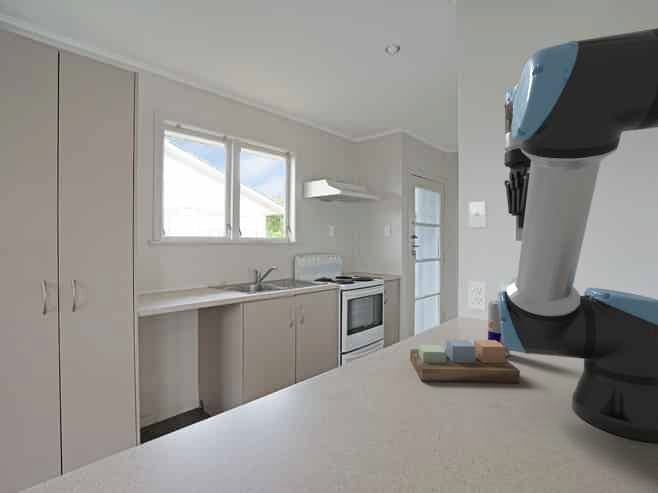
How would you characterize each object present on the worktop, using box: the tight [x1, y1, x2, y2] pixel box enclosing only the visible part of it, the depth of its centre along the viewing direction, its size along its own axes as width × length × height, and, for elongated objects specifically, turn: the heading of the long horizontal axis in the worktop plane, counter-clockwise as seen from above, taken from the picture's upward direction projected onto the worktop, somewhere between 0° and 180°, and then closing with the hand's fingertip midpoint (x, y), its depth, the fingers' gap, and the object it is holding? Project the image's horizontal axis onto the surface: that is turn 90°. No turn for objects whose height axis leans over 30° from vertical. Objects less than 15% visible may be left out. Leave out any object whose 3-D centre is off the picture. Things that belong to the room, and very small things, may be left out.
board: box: [409, 348, 521, 384], centre depth 86 cm, size 14×22×3 cm, turn 87°
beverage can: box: [487, 300, 511, 357], centre depth 98 cm, size 6×6×15 cm
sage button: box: [418, 344, 446, 363], centre depth 86 cm, size 5×5×4 cm
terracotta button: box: [473, 339, 506, 363], centre depth 86 cm, size 5×5×4 cm
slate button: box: [445, 339, 476, 363], centre depth 86 cm, size 5×5×4 cm
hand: (519, 240), depth 91 cm, fingers closed
